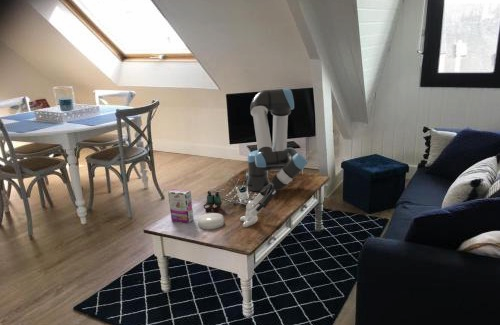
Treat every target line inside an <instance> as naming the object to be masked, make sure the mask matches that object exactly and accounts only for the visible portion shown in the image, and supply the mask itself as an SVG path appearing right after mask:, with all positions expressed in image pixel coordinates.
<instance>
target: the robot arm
mask: <svg viewBox="0 0 500 325" xmlns="http://www.w3.org/2000/svg"><path fill="white" fill-rule="evenodd" d="M249 109H250V110H249V111H250V115H251V116H252V118H253V125H254V126H253V127H254V132H255V138H256V146H257V150H252V151H251V152H248V154H247V167H248V170H247V172H248V177H247V181H246V184H245V185H246V186H245V187H247V186H248V189H249V191H252V192H259V193H258V195H256V196H255V197H254V198H253V199H252V202H253V203H254V204H255V205H254V208H253V210H252V211H251V212H250V213H251V214H252V215H253V216H255V215H258V214H259V213H260V211H261V210H262V209H266V207H267V206H268V204H270V202H271V201H272V199H273V198H274V197H275V196H276V195H277V193H278V192H277V190H280V191H282V190H284V189H285V188H286V187H287V185H289V183H290V182H293V179H294V178H296V176H297V175H299V174H300V173H301V171H302V170H304V169H305V167H306V166H307V165H308V164H309V162H308V159H306V157H305V156H304V155H303V154H301V153H300V152H298V151H297V150H296V149H295V148H293V147H288V126H289V125H288V124H289V123H288V122H289V121H288V120H289V115H291V113H292V110H294V109H295V100H294V95H293V91H292V90H291V89H290V88H278V89H277V88H275V89H264V90H260V91H259V92H257V94H255V95H254V97H253V98H252V101H251V103H250V107H249ZM269 112H270V114H271V115H272V138H271V133H270V126H269V120H268V113H269ZM268 171H277V173H276V174H275V175H274V176H273V177H272V178H271V179H269V175H268ZM270 181H271V182H270ZM248 189H247V190H248ZM260 201H261V202H260Z"/></svg>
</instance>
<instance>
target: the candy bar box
mask: <svg viewBox="0 0 500 325" xmlns="http://www.w3.org/2000/svg"><path fill="white" fill-rule="evenodd" d="M191 193H192V192H191V191H190V190H183V189H171V190H170V191H168V193H167V194H168V202H169V210H170V219H171V222H177V223H178V222H179V223H185V224H190V223H191V222H192V221H194V214H193V213H194V212H193V211H194V210H193V203H192V194H191Z"/></svg>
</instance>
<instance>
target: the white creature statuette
mask: <svg viewBox="0 0 500 325" xmlns="http://www.w3.org/2000/svg"><path fill="white" fill-rule="evenodd" d="M252 201H253V199H252V200H248V203H247V204H246V205H245V206H246V207H245V209H246V210H245V215H244V216H243V215H242V216H241V217H240V218H239V221H240V222H243V223H242V226H243V228H247V227H250V226H252V225H254V224H256V223H257V222H258V219H259V218H258V214H256V215H255V216H253V215H252V214H251V213H250V212H251V211H252V210H253V209H254V208H255V206H256V205H255V204H254V203H253V202H252Z"/></svg>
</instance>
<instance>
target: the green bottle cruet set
mask: <svg viewBox="0 0 500 325" xmlns="http://www.w3.org/2000/svg"><path fill="white" fill-rule="evenodd" d="M219 193H220V192H219V191H216V192H215V193H214V194H212V191H210V190H208V191H207V195H206V202H205V204H204V205H203V209H204V210H205V212H206V213H219V212H220V210H221V209H222V203H223V202H222V199H221V195H220V194H219ZM214 206H216V207H214ZM212 211H213V212H212Z"/></svg>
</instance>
